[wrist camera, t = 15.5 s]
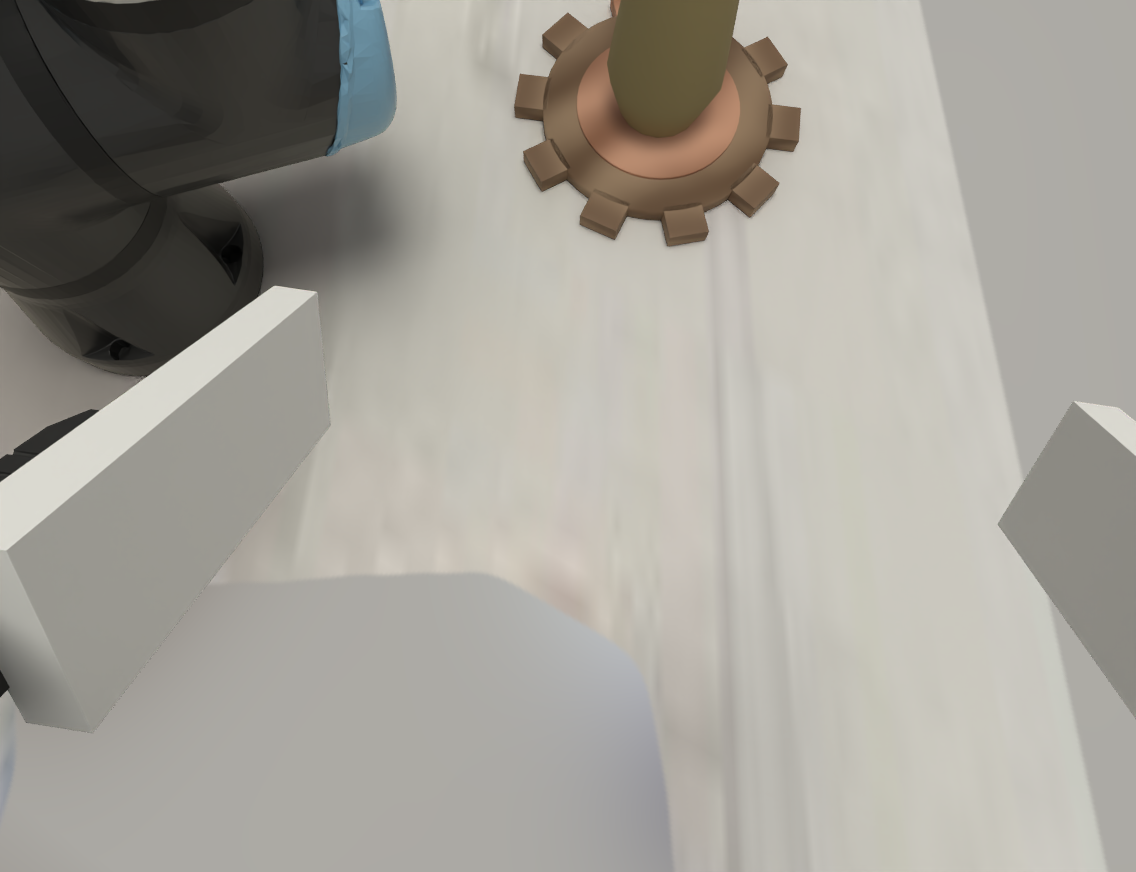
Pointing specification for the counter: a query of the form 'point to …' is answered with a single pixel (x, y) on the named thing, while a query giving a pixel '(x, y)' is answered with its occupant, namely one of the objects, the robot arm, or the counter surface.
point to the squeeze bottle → (669, 60)
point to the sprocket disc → (648, 164)
